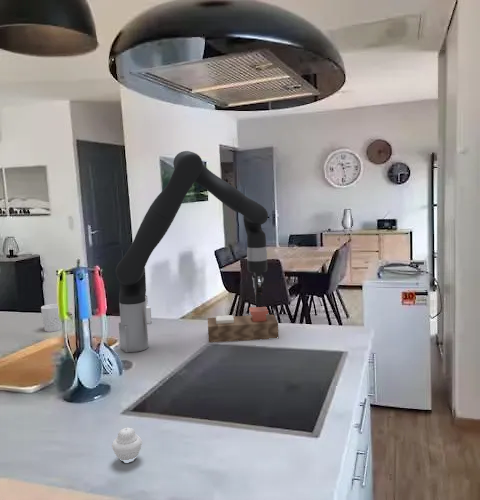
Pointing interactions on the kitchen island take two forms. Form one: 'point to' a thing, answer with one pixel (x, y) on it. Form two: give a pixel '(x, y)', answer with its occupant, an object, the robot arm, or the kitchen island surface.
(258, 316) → the red square flowerpot
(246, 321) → the button box
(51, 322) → the white cup
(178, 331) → the kitchen island surface
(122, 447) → the muffin
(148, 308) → the medicine bottle
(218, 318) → the white block
